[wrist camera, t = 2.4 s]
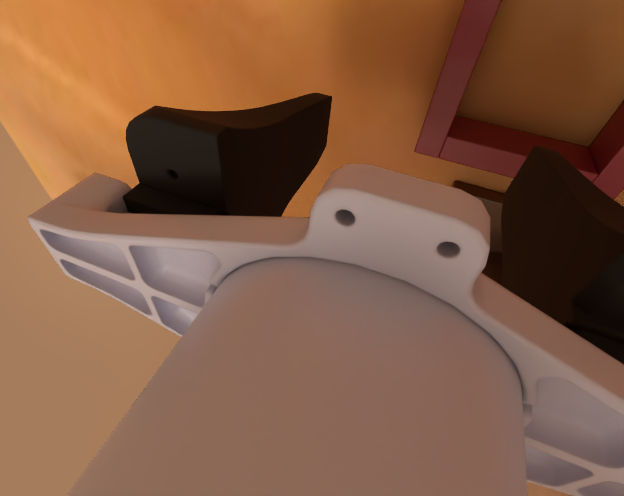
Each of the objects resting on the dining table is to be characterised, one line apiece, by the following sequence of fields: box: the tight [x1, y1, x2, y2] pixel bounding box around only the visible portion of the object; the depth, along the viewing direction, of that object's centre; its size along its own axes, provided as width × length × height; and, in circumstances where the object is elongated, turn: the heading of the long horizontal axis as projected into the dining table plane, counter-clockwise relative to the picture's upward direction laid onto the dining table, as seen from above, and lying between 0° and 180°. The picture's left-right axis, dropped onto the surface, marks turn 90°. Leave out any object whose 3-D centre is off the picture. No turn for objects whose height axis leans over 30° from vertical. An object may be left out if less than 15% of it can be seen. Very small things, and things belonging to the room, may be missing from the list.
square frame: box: [414, 0, 624, 200], centre depth 16 cm, size 10×10×3 cm
